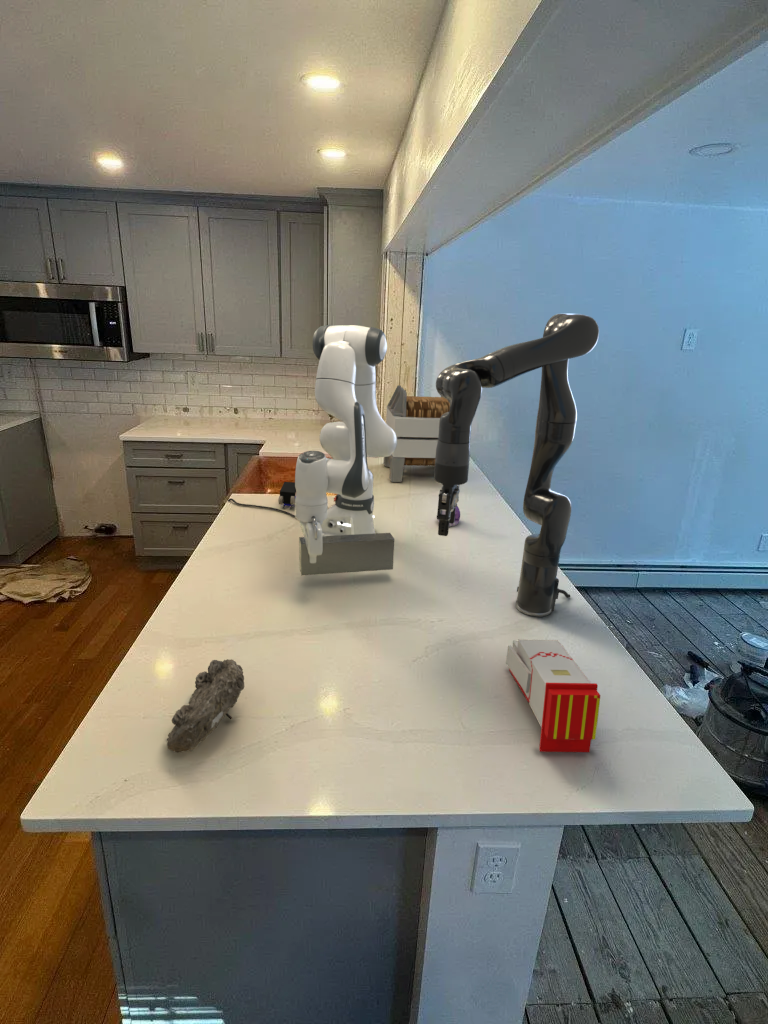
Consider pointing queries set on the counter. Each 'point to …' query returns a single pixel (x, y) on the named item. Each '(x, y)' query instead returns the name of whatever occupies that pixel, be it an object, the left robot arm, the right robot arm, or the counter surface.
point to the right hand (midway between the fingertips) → (446, 528)
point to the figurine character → (287, 494)
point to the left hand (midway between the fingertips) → (311, 557)
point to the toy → (556, 694)
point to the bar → (349, 554)
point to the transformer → (413, 430)
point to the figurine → (457, 516)
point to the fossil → (206, 705)
